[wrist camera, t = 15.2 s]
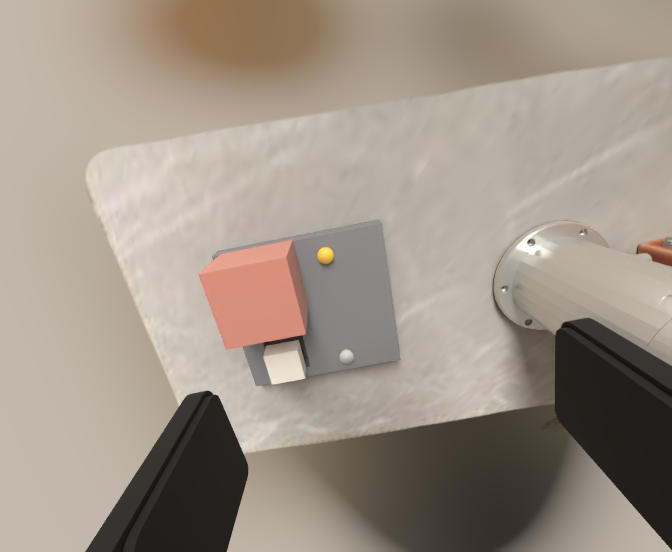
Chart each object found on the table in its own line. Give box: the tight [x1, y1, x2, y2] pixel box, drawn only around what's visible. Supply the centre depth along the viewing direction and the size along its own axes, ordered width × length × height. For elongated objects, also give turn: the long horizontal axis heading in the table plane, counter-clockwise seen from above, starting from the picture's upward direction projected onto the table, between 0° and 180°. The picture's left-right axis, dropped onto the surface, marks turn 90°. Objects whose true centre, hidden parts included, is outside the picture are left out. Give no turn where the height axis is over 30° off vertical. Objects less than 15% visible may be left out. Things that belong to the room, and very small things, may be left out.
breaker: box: [263, 340, 306, 385], centre depth 34 cm, size 4×4×2 cm
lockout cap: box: [199, 240, 309, 350], centre depth 29 cm, size 7×7×6 cm
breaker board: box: [212, 220, 401, 386], centre depth 34 cm, size 17×16×3 cm
